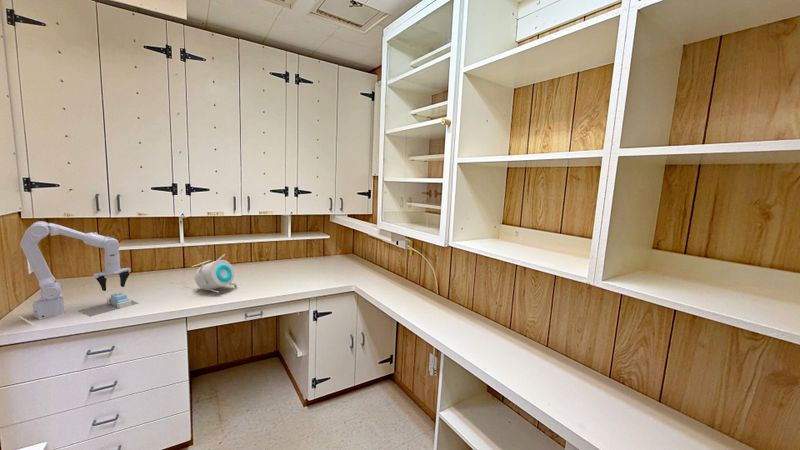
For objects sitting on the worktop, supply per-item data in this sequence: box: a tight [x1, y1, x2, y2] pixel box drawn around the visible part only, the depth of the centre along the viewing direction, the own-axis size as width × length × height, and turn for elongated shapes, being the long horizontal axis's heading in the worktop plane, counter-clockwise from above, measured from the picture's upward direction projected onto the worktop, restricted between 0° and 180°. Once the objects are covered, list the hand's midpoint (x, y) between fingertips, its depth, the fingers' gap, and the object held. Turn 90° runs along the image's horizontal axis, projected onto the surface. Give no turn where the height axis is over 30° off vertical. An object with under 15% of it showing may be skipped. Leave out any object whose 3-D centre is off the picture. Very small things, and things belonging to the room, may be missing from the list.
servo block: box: [108, 292, 130, 306], centre depth 167 cm, size 4×10×6 cm, turn 64°
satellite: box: [191, 251, 238, 297], centre depth 196 cm, size 23×20×25 cm
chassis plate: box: [77, 297, 140, 317], centre depth 163 cm, size 20×12×4 cm, turn 155°
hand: (113, 288), depth 166 cm, fingers open, 7 cm apart
